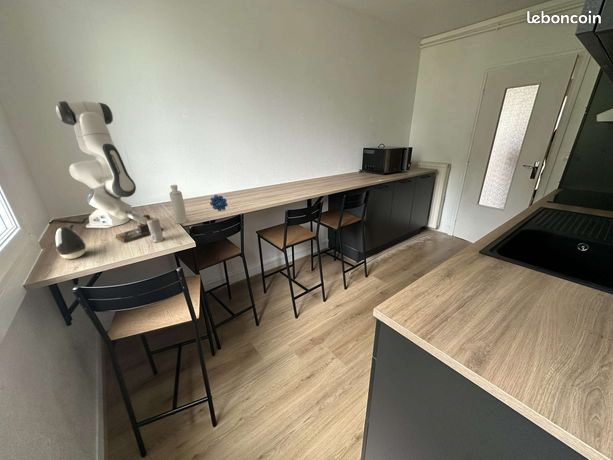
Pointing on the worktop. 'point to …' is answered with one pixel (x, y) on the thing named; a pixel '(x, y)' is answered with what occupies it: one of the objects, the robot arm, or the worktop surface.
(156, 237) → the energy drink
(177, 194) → the white bottle
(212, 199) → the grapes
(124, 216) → the robot arm
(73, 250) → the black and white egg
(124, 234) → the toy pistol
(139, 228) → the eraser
